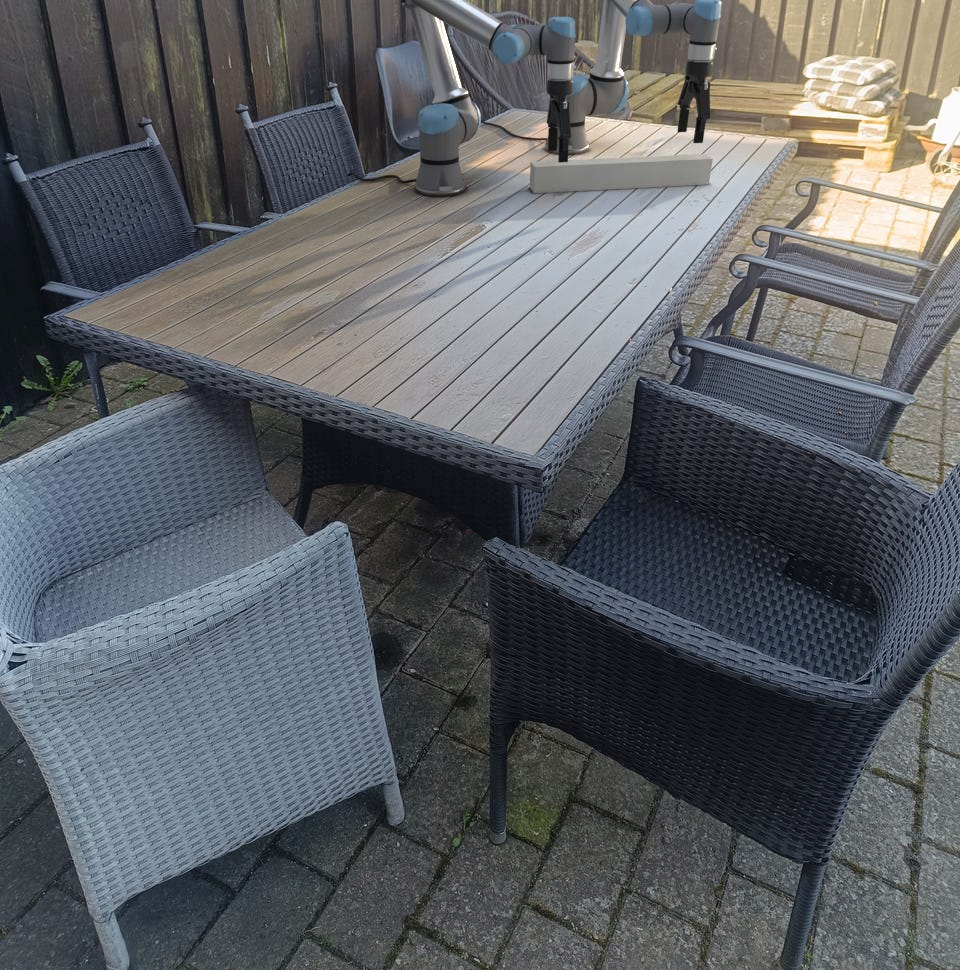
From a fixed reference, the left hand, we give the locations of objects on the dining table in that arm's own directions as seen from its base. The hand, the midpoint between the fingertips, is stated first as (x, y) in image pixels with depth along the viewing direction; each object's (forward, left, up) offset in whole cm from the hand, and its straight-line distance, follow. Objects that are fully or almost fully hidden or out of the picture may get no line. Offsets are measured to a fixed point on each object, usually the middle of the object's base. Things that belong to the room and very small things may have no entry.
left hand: (557, 156), depth 253 cm
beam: (+13, +15, -10) cm, 23 cm away
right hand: (+27, +31, +4) cm, 41 cm away
